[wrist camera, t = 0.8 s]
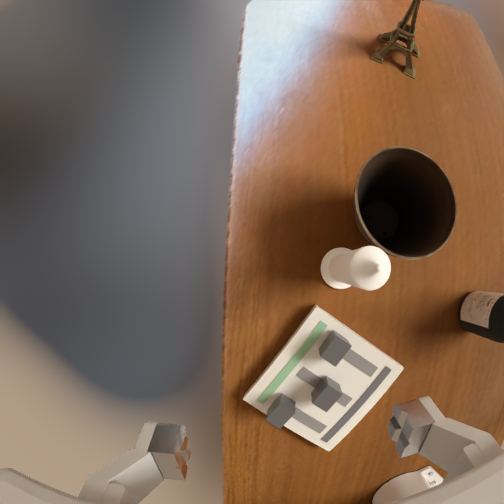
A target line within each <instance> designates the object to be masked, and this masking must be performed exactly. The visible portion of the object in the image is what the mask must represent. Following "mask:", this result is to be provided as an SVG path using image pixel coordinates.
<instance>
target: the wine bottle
mask: <svg viewBox="0 0 504 504" xmlns="http://www.w3.org/2000/svg"><path fill="white" fill-rule="evenodd" d="M459 319H460V323H461V325H462V326H463V328H464V329H465V330H467V331H469V332H471V333H474V334H477V335H480V336H482V337H485V338H488V339H490V340H493V341H496V342H500V343H504V294H500V293H492V292H483V291H474V292H471V293H469V294H468V295H467V296H466V297H465V298H464V300H463V301H462V303H461V306H460V309H459Z"/></svg>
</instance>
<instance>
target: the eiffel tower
mask: <svg viewBox="0 0 504 504" xmlns="http://www.w3.org/2000/svg"><path fill="white" fill-rule="evenodd" d="M423 1H424V0H423ZM419 5H420V0H413V1H412V3H411V5H410V7H409V9H408V11H407V13H406V15H405V16H404V18H403V20H399V22H398V25H397V29H393V31H392V32H388V33H384V34H382V33H380V35H379V38H378V40H380V41H383V42H385V43H387V44H388V45H387V46H386V47H384V48H381V49H379V50H377V51H375V52H374V51H373V54H372V56H371V59H372V60H374V61H377V62H379V63H383V60H384V57H385V56H386V54H387V53H388V52H389V51H390V50H398V51H400V52H402V53H403V54H404V55H405V56H406V65H405V68H404V72H403V73H404V74H406V75H408V76H410V77H412V78H415V74H416V70H415V69H414V68H415V67H414V65H413V62H412V59H411V54H412V55H414V56H416V57H418V58H419V57H420V52H421V51H420V50H418V47H417V45H416V44H415V34H416V29H417V27H415V23H416V18H417V13H418V9H419ZM413 10H414V11H413ZM412 13H413V16H412V21H411V25H409V24H407V22H408V20H409V19H410V17H411V15H412ZM397 40H400V41H402V42H404V43H406V45H407V47H405V46H403V45H400V44H398V43H396V41H397Z"/></svg>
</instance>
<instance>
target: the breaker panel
mask: <svg viewBox="0 0 504 504" xmlns="http://www.w3.org/2000/svg"><path fill="white" fill-rule="evenodd" d="M332 330H334V331H336V332H337V333H339V334H340V335H342V336H343V337H344V338H346V339H347V340H348V341H349V343H350V344H351V346H352V347H351V348H350V349H349V351H348V352H347V353H346V354H345V356H344V357H343V358H342V359H341V361H340V362H339V363H338V364H337V366H336V367H335V366H333V365H332V364H330V363H329V362H327V361H326V360H324V359H323V358H321V357H320V354H319V350H318V349H319V347H320V346H321V345H322V344H323V342H324V341H325V340H326V338H327V337H328V336H329V334H330V333H331V332H332ZM403 369H404V367H403V366H402V365H401V364H400V363H398V362H397V361H395V360H394V359H393V358H391V357H390V356H388V355H387V354H385V353H384V352H383V351H381V350H380V349H378V348H377V347H375V346H374V345H373V344H371V343H370V342H368V341H367V340H366V339H364V338H363V337H361V336H360V335H358V334H357V333H356V332H354V331H353V330H351V329H350V328H349V327H347V326H346V325H344V324H343V323H342V322H340V321H339V320H337V319H336V318H334V317H333V316H332V315H330V314H329V313H327V312H326V311H325V310H323V309H322V308H320V307H319V306H318V305H316V304H315V305H314V307H313V308H312V309H311V311H310V312H309V314H308V315H307V316H306V318H305V319H304V320H303V322H302V323H301V324H300V326H299V327H298V328H297V330H296V331H295V332H294V334H293V335H292V336H291V337H290V339H289V340H288V341H287V343H286V344H285V345H284V346H283V348H282V349H281V350H280V352H279V353H278V354H277V355H276V357H275V358H274V359H273V360H272V362H271V363H270V364H269V365H268V367H267V368H266V369H265V370H264V371H263V373H262V374H261V375H260V376H259V378H258V379H257V380H256V381H255V382H254V384H253V385H252V386H251V387H250V388H249V389H248V391H247V392H246V393H245V395H244V398H243V400H245V401H246V402H248V403H249V404H251V405H252V406H254V407H255V408H257V409H258V410H260V411H261V412H263V413H264V414H267V410H268V408H269V407H270V406H271V405H272V404H273V402H274V401H275V400H276V399H277V398H278V397H279V396H280V395H281V393H283V394H284V395H286V396H287V397H289V398H290V399H292V400H293V401H295V402H296V406H295V414H294V415H293V416H292V417H291V418H290V419H289V420H288V421H287V422H286V423H285V425H284V426H285V427H287V428H288V429H290V430H292V431H293V432H295V433H297V434H298V435H300V436H302V437H304V438H305V439H307V440H309V441H311V442H312V443H314V444H316V445H318V446H320V447H322V448H323V449H325V450H327V451H330V450H331V449H333V448H334V447H335V446H336V445H337V444H338V443H339V442H340V441H341V440H342V439H343V438H344V437H345V436H346V435H347V434H348V433H349V432H350V431H351V430H352V429H353V428H354V427H355V426H356V424H357V423H358V422H359V421H360V420H361V419H362V418H363V417H364V416H365V415H366V414H367V413H368V411H369V410H370V409H371V408H372V407H373V406H374V405H375V404H376V402H377V401H378V400H379V399H380V398H381V397H382V395H383V394H384V393H385V392H386V391H387V389H388V388H389V387H390V386H391V384H392V383H393V382H394V381H395V379H396V378H397V377H398V376H399V374H400V373H401V372H402V370H403ZM325 376H328V377H329V378H331V379H332V380H334V381H335V382H337V383H338V384H340V387H341V390H342V393H343V395H342V396H341V397H340V398H339V399H338V400H337V401H336V403H335V404H334V405H333V406H332V407H331V408H330V409H329V410H328V411H327V412H325V411H323V410H322V409H320V408H319V407H317V406H315V405H314V404H312V397H311V392H312V391H313V390H314V389H315V388H316V386H317V385H318V384H319V383H320V382H321V381H322V379H323V378H324V377H325Z"/></svg>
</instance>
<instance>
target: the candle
mask: <svg viewBox="0 0 504 504" xmlns="http://www.w3.org/2000/svg"><path fill="white" fill-rule="evenodd" d="M390 271H391V264H390V260H389V258H388V256H387V254H386V253H385V252H384V251H383V250H381V249H380V248H378V247H375V246H365V247H362V248H359V249H356V250H353V251H352V250H350V249H347V248H343V247H339V248H335V249H332V250H330V251H329V252H328V253H327V254H326V255H325V256H324V258H323V260H322V262H321V275H322V277H323V279H324V281H325V282H326V283H327V284H328V285H329V286H331V287H333V288H336V289H345V288H348V287H350V286H354V287H358V288H361V289H364V290H375V289H378V288H380V287H381V286H383V285H384V284H385V283H386V281H387V280H388V278H389V275H390Z"/></svg>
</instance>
